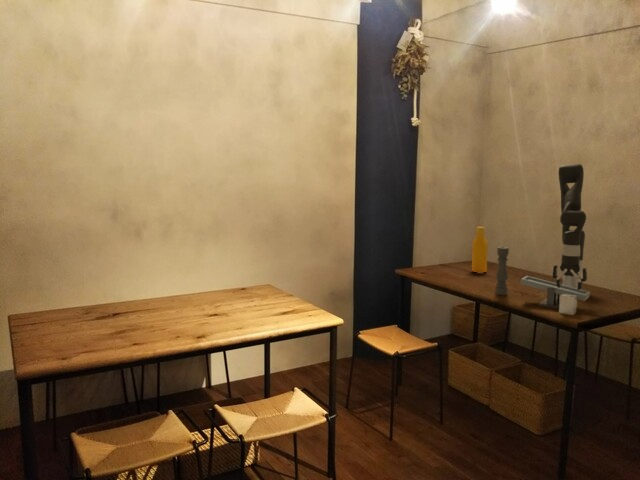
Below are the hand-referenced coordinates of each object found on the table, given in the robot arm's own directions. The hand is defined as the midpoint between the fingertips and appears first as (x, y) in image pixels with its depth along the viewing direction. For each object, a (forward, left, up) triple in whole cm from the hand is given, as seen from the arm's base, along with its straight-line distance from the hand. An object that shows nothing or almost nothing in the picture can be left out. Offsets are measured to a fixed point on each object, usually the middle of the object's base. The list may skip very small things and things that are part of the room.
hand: (568, 288), depth 244 cm
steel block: (0, 0, -11) cm, 11 cm away
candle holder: (-17, -37, -12) cm, 42 cm away
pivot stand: (-10, -9, -11) cm, 18 cm away
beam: (-10, -9, -4) cm, 14 cm away
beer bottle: (-65, -68, -12) cm, 95 cm away
